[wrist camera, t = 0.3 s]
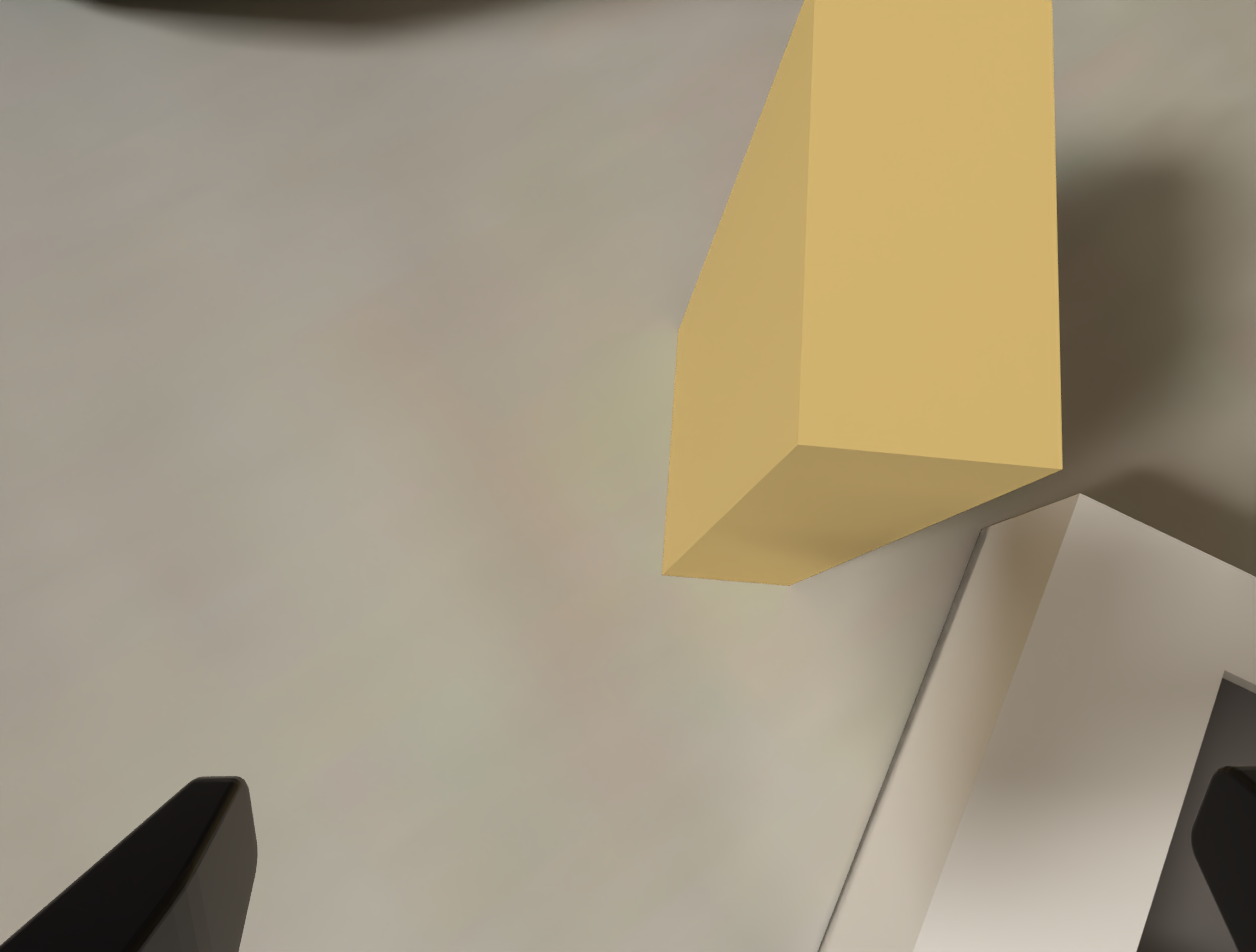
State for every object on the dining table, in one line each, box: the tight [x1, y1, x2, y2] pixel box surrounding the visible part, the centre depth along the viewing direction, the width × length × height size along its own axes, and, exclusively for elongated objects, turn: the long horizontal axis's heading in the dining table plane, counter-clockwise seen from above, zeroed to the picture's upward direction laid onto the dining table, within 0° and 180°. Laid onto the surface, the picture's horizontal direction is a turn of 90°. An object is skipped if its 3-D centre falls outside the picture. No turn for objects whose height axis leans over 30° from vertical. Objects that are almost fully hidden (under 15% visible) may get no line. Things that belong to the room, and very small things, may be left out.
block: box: [662, 0, 1063, 586], centre depth 18 cm, size 6×3×12 cm, turn 176°
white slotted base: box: [818, 493, 1256, 952], centre depth 20 cm, size 12×12×4 cm
